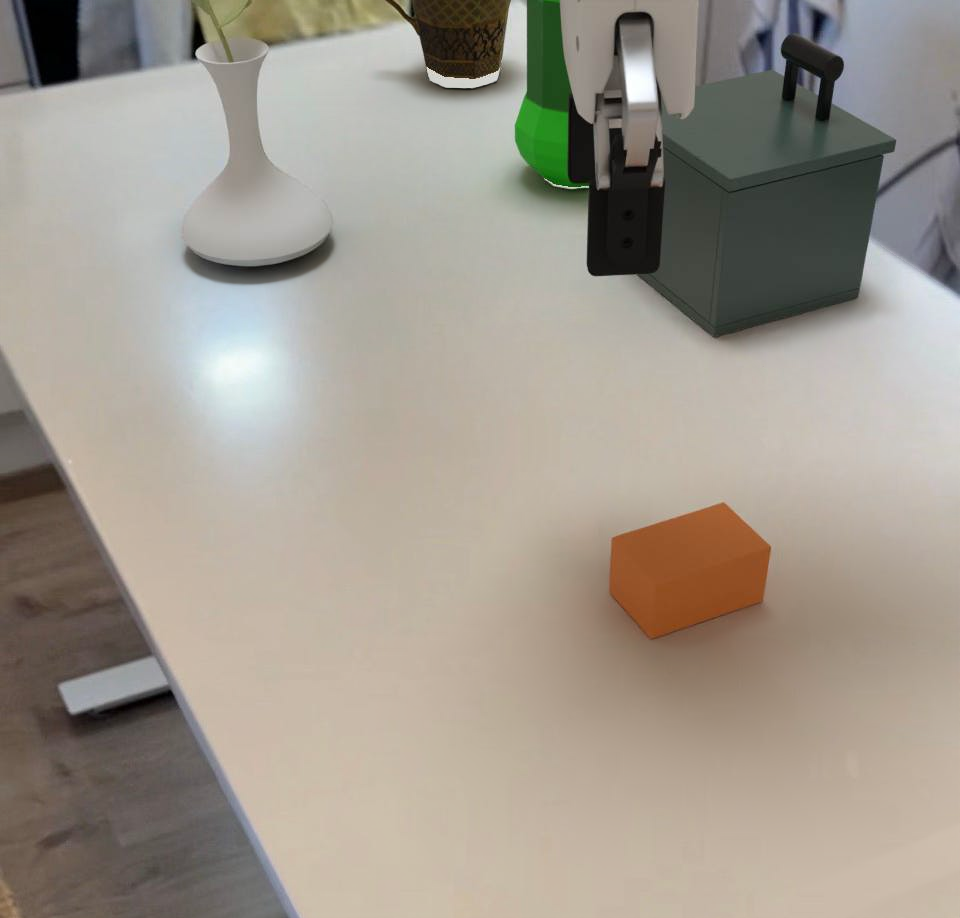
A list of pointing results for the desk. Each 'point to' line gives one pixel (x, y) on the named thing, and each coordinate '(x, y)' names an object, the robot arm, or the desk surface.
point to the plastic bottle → (545, 96)
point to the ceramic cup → (460, 35)
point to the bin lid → (772, 124)
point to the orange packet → (688, 569)
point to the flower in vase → (249, 173)
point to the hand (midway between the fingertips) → (610, 223)
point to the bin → (763, 243)
